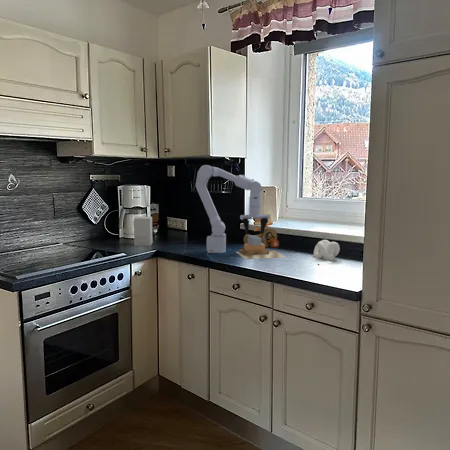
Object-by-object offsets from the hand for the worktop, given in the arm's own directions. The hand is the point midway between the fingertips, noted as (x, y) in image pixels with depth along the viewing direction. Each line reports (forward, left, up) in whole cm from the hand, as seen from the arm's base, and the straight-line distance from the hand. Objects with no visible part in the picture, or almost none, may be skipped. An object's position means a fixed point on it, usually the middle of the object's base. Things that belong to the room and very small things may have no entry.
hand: (254, 233), depth 209 cm
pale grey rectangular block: (-1, -3, -5) cm, 5 cm away
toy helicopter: (+9, +13, -10) cm, 19 cm away
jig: (+1, -7, -10) cm, 12 cm away
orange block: (-1, -3, -9) cm, 10 cm away
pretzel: (+29, -18, -10) cm, 36 cm away
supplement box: (-52, +36, -10) cm, 64 cm away
